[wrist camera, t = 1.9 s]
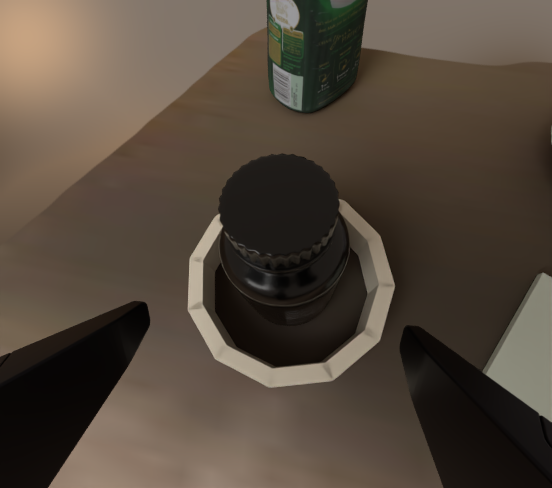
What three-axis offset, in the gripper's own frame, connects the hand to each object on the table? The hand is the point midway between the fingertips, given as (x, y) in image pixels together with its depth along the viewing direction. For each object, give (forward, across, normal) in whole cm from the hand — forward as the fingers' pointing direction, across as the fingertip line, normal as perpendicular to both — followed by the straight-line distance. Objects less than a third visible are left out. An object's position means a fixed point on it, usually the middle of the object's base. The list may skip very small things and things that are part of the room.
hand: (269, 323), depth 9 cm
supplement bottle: (+11, 0, +5) cm, 12 cm away
